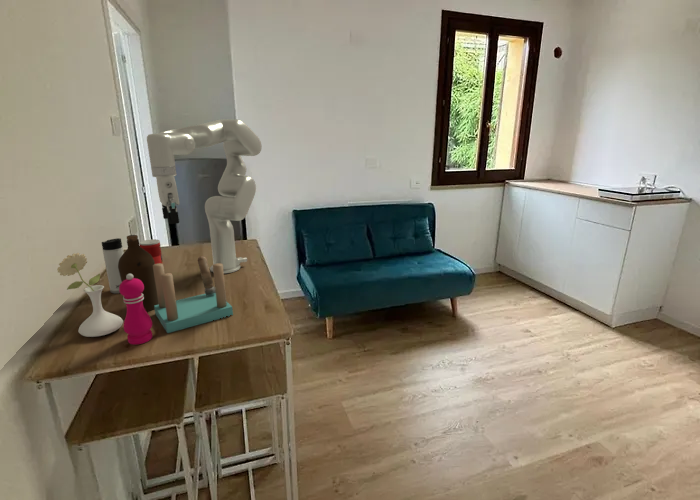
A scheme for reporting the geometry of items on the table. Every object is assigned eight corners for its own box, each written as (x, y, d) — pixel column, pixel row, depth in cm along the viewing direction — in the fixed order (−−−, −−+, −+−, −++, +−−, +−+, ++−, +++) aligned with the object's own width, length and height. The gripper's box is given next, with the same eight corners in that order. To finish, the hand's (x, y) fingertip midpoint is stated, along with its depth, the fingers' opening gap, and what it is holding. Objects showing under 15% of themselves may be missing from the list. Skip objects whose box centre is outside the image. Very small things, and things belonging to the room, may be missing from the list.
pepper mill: (133, 333, 116) (121, 269, 110) (158, 332, 116) (148, 269, 110) (121, 346, 109) (108, 278, 103) (148, 345, 109) (137, 278, 103)
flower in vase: (117, 318, 125) (103, 243, 117) (129, 331, 117) (114, 251, 110) (68, 332, 116) (50, 252, 109) (77, 347, 108) (58, 261, 101)
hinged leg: (214, 293, 137) (204, 256, 138) (216, 292, 134) (206, 254, 136) (205, 296, 135) (195, 258, 137) (207, 294, 132) (197, 256, 134)
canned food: (166, 264, 175) (163, 240, 172) (149, 269, 169) (145, 245, 166) (156, 261, 179) (153, 238, 176) (139, 266, 173) (135, 242, 170)
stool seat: (216, 298, 139) (211, 253, 134) (233, 315, 127) (228, 265, 122) (155, 313, 128) (147, 264, 123) (167, 333, 116) (159, 279, 111)
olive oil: (167, 303, 136) (157, 233, 128) (142, 316, 126) (129, 241, 119) (145, 298, 139) (134, 230, 132) (118, 311, 130) (104, 238, 123)
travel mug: (122, 294, 143) (112, 241, 137) (106, 293, 144) (96, 240, 138) (134, 288, 149) (125, 237, 143) (119, 286, 150) (110, 236, 144)
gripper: (181, 173, 128) (188, 224, 133) (170, 168, 141) (177, 215, 147) (156, 175, 124) (164, 227, 129) (147, 170, 137) (155, 217, 143)
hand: (171, 220), depth 138 cm, fingers open, 9 cm apart
